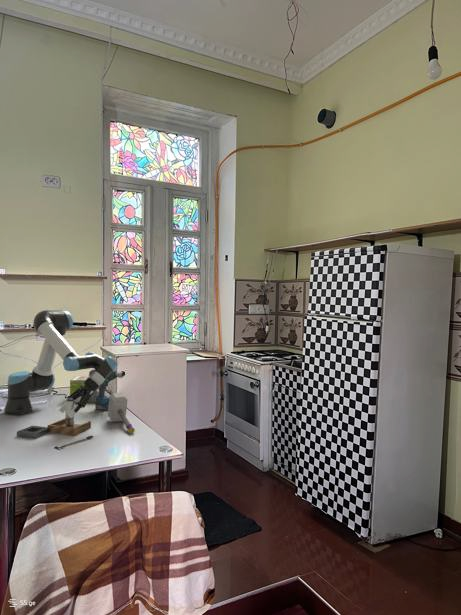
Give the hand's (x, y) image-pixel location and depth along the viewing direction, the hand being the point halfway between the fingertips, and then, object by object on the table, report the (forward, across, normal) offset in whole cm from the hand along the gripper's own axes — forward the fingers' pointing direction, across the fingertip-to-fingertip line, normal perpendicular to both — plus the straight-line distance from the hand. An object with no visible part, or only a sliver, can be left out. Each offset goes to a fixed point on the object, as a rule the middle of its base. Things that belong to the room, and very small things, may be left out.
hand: (64, 414), depth 224 cm
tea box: (-17, +65, -29) cm, 73 cm away
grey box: (-21, +55, -34) cm, 68 cm away
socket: (+16, +3, +4) cm, 17 cm away
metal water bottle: (+3, 0, -7) cm, 8 cm away
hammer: (-13, -9, -26) cm, 31 cm away
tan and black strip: (+8, -23, -5) cm, 25 cm away
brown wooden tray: (+4, 0, -8) cm, 9 cm away
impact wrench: (-19, +31, -32) cm, 48 cm away
